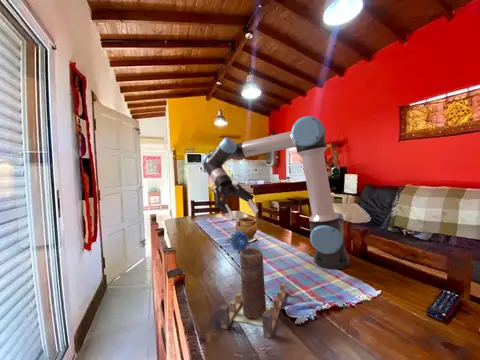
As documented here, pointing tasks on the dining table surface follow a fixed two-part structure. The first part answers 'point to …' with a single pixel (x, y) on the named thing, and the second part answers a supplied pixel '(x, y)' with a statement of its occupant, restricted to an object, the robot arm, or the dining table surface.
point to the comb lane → (265, 320)
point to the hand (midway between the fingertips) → (245, 215)
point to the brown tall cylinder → (252, 283)
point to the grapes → (239, 241)
